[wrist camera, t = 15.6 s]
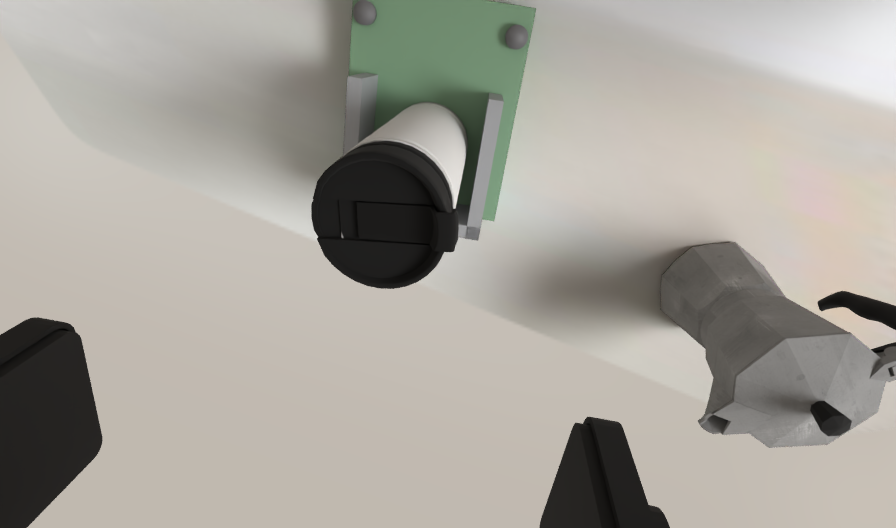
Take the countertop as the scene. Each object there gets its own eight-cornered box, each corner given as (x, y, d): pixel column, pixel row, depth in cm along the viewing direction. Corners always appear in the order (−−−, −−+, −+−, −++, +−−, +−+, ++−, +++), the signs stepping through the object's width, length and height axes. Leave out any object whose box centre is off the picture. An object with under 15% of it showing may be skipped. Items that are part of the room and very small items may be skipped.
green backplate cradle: (362, -17, 36) (332, -32, 29) (533, 10, 36) (543, 2, 29) (350, 188, 43) (323, 214, 36) (493, 211, 43) (494, 243, 36)
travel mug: (471, 183, 39) (455, 300, 21) (391, 179, 40) (308, 292, 21) (474, 102, 36) (460, 157, 18) (388, 100, 37) (291, 150, 19)
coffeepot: (658, 352, 47) (747, 514, 31) (619, 277, 44) (695, 412, 28) (825, 285, 43) (1031, 431, 27) (795, 197, 40) (1006, 301, 24)
